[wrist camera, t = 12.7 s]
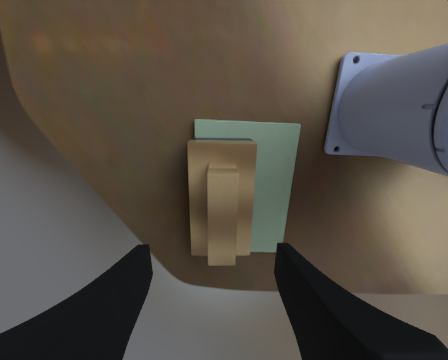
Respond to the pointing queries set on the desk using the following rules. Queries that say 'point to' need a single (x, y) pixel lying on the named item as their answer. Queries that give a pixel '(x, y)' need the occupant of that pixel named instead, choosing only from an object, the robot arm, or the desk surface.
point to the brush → (221, 197)
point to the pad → (264, 172)
